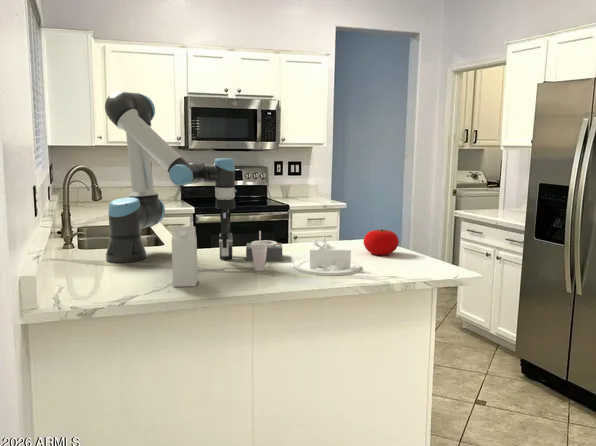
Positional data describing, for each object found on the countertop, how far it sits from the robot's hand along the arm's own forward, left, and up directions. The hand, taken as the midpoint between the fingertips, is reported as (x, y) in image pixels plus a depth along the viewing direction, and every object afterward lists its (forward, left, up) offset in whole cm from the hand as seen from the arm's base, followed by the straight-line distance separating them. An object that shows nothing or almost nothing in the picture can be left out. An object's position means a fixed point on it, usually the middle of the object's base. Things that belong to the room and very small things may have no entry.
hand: (226, 252), depth 219 cm
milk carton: (-11, -38, -3) cm, 40 cm away
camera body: (+15, +1, -3) cm, 15 cm away
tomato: (+63, +7, -3) cm, 64 cm away
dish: (+38, -16, -3) cm, 41 cm away
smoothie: (+13, -18, -3) cm, 23 cm away
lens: (0, 0, -3) cm, 3 cm away
